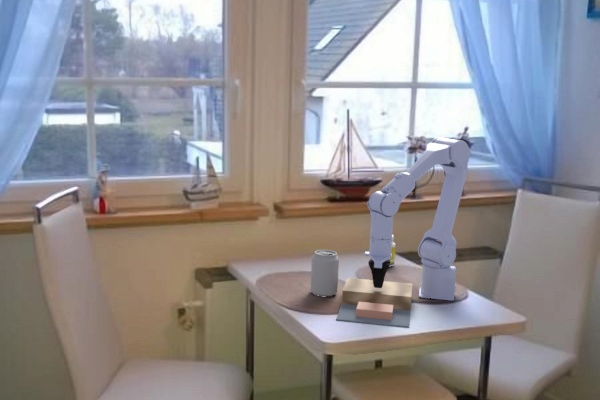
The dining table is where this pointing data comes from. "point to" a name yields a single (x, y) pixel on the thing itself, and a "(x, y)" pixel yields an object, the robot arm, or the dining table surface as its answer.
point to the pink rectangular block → (374, 310)
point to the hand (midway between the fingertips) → (378, 287)
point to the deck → (377, 293)
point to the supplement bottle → (392, 252)
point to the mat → (398, 318)
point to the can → (324, 273)
